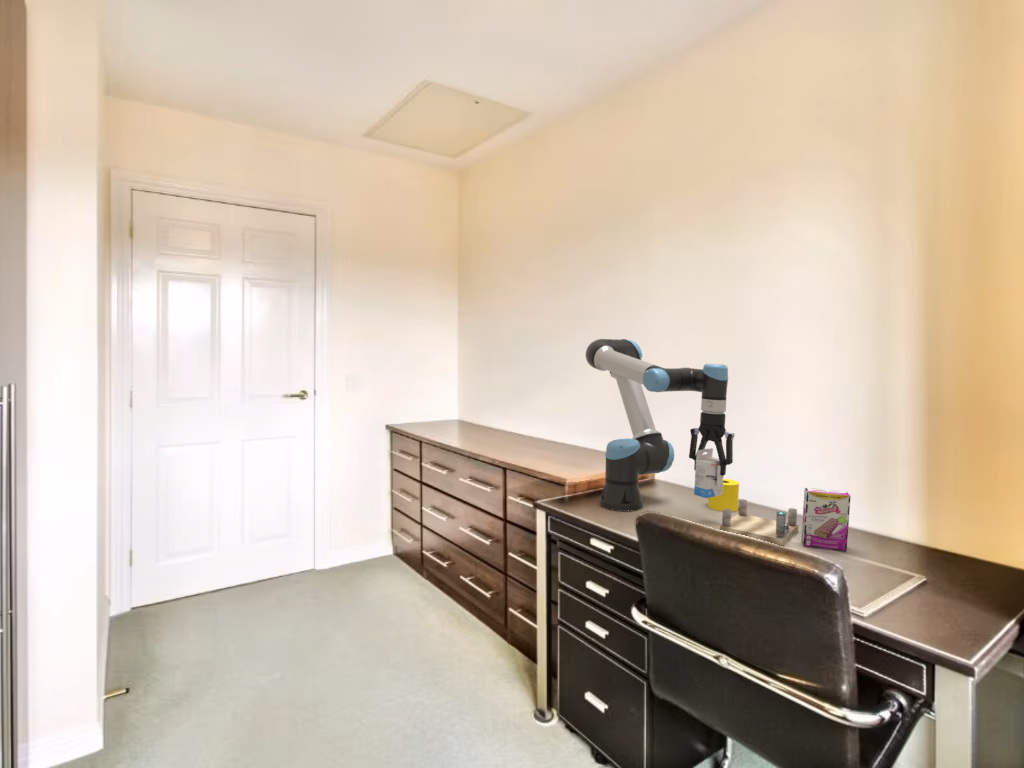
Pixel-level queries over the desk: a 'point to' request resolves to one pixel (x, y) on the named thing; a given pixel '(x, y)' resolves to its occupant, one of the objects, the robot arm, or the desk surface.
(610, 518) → the desk surface
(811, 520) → the candy bar box
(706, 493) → the ink box
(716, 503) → the yellow paper roll
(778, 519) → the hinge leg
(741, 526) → the peg board
